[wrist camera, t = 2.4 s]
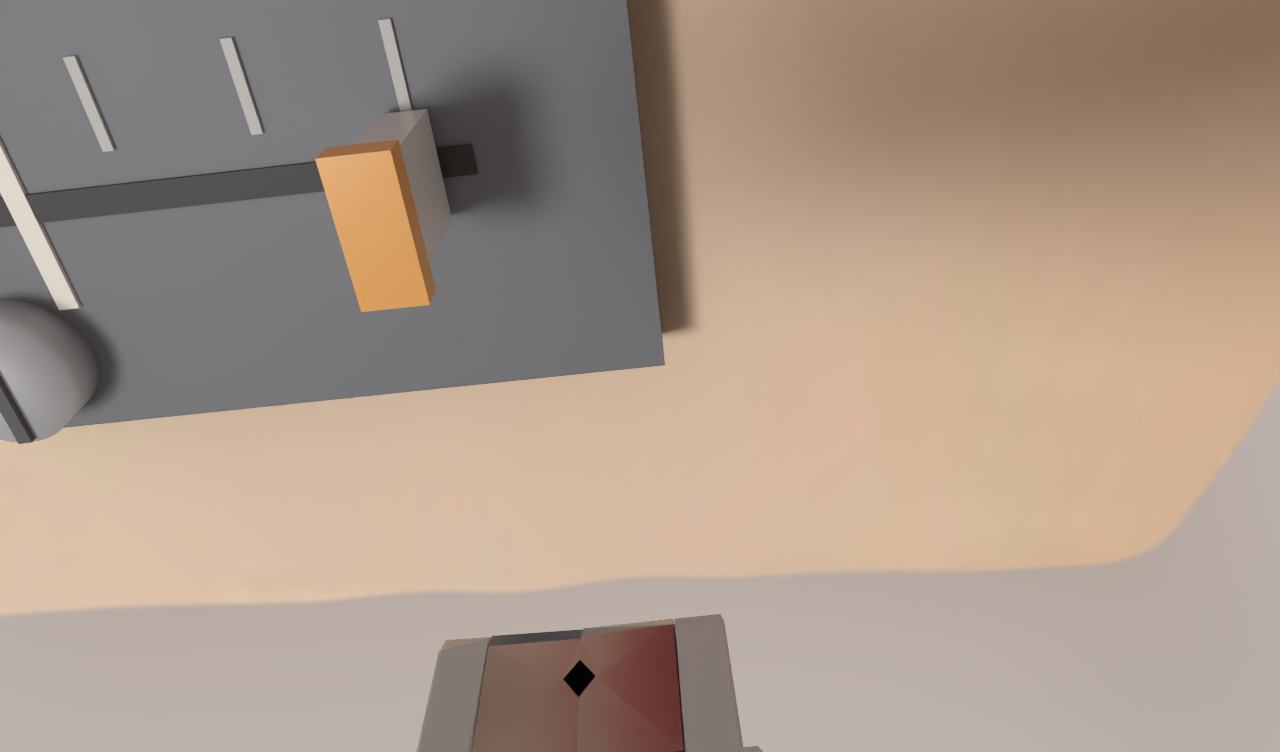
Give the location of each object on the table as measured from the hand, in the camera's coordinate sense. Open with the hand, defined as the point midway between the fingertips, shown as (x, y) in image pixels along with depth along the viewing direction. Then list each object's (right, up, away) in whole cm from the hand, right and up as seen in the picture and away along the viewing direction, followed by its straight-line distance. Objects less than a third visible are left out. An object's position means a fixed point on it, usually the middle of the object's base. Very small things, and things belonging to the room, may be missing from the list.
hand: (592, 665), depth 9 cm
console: (-10, +9, +16) cm, 21 cm away
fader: (-5, +9, +14) cm, 17 cm away
